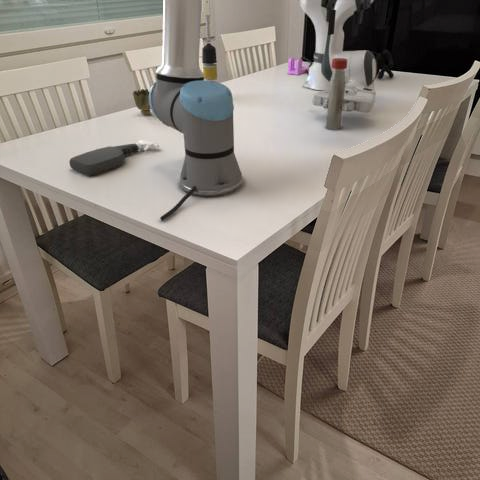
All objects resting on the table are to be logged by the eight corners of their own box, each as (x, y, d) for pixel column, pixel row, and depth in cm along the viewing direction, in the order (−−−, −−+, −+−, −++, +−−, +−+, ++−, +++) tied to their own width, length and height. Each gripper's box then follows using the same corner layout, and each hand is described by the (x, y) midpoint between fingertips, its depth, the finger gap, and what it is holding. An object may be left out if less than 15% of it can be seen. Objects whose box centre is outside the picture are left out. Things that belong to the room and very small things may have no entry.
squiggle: (382, 89, 208) (358, 69, 211) (398, 74, 207) (374, 53, 210) (386, 78, 197) (361, 56, 199) (403, 61, 196) (378, 40, 199)
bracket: (297, 74, 213) (298, 59, 209) (287, 73, 216) (288, 58, 212) (311, 70, 222) (312, 55, 218) (301, 68, 225) (302, 54, 221)
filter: (220, 99, 177) (217, 15, 161) (206, 100, 176) (202, 16, 160) (215, 96, 182) (212, 14, 166) (202, 97, 180) (197, 14, 164)
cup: (131, 115, 161) (128, 92, 157) (144, 109, 166) (141, 87, 162) (147, 117, 158) (145, 94, 154) (160, 112, 163) (157, 89, 159)
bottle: (326, 129, 144) (332, 62, 133) (325, 125, 148) (331, 59, 137) (341, 129, 144) (348, 62, 133) (340, 125, 148) (346, 59, 137)
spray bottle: (67, 168, 120) (139, 144, 136) (91, 178, 114) (163, 151, 130) (65, 157, 118) (137, 134, 134) (89, 167, 112) (162, 142, 128)
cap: (332, 69, 134) (333, 61, 133) (331, 66, 138) (331, 58, 137) (347, 69, 134) (348, 60, 133) (345, 66, 138) (346, 58, 136)
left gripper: (311, -58, 121) (306, 34, 133) (382, -61, 111) (369, 39, 124) (324, -58, 126) (318, 31, 139) (392, -60, 117) (379, 35, 129)
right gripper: (321, 84, 154) (305, 93, 145) (380, 91, 145) (366, 101, 135) (320, 102, 158) (303, 112, 148) (377, 110, 148) (364, 121, 139)
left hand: (342, 35), depth 131 cm, fingers open, 7 cm apart
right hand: (334, 107), depth 141 cm, fingers closed on bottle, 5 cm apart
